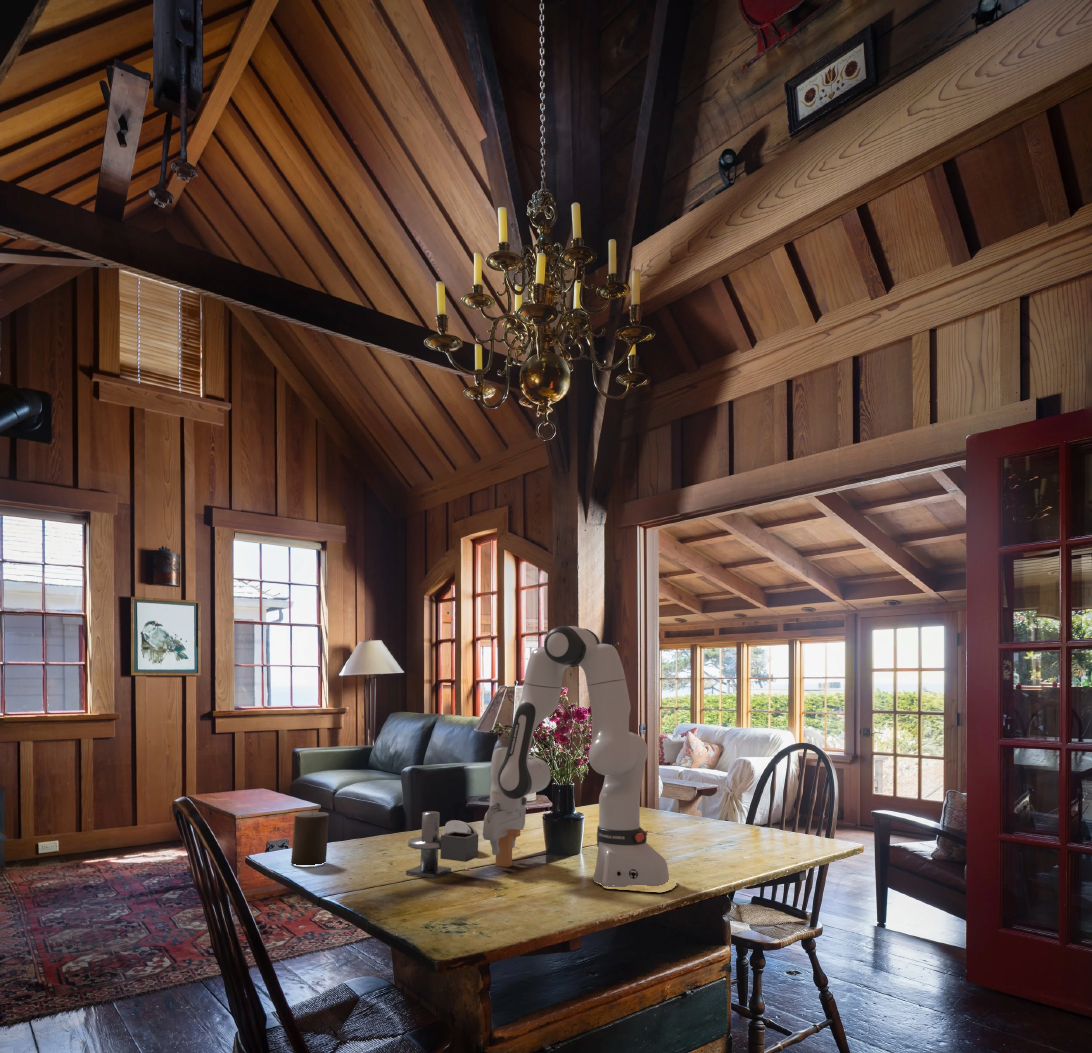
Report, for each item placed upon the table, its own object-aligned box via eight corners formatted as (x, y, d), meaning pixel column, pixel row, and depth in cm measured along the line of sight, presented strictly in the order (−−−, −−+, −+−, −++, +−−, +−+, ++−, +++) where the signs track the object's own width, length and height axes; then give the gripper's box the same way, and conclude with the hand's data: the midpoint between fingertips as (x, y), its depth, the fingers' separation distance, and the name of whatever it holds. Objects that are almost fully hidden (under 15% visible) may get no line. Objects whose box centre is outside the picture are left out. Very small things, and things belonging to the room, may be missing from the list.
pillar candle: (313, 869, 233) (317, 813, 236) (283, 865, 236) (287, 810, 239) (332, 862, 242) (336, 808, 245) (304, 859, 245) (307, 806, 248)
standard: (482, 874, 231) (483, 813, 233) (460, 884, 220) (462, 820, 223) (422, 866, 239) (424, 807, 241) (398, 875, 228) (400, 814, 231)
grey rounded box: (433, 847, 264) (444, 815, 267) (445, 851, 266) (456, 819, 269) (457, 857, 250) (468, 823, 253) (470, 861, 252) (481, 827, 256)
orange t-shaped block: (519, 866, 240) (520, 830, 242) (515, 868, 238) (516, 831, 240) (492, 862, 244) (492, 827, 246) (488, 864, 242) (488, 828, 244)
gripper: (497, 807, 234) (496, 859, 231) (529, 797, 252) (528, 845, 250) (478, 805, 236) (476, 857, 234) (510, 796, 254) (509, 843, 252)
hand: (503, 851), depth 242 cm, fingers open, 8 cm apart
